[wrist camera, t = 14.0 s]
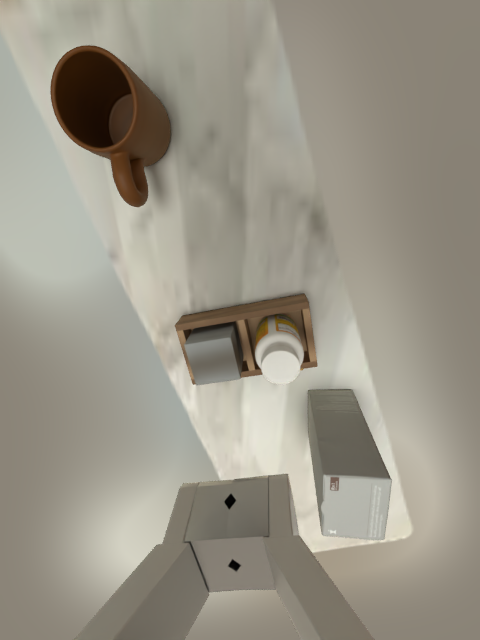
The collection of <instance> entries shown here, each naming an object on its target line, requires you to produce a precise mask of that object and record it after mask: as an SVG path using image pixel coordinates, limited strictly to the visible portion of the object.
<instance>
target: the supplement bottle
mask: <svg viewBox="0 0 480 640" xmlns="http://www.w3.org/2000/svg"><path fill="white" fill-rule="evenodd" d="M255 358H256V362H257V364H258V366H259V367H260V369H261V371H262V374H263V376H264V377H265V378H266V379H267V380H268V381H269V382H271V383H274V384H278V385H283V384H288V383H290V382H292V381H293V380H295V379H296V377H297V376H298V374H299V372H300V366H301V364H302V362H303V358H304V351H303V346H302V343H301V340H300V336H299V333H298V330H297V327H296V324H295V322H294V321H293V320H292V319H291V318H290V317H288V316H286V315H284V314H274V315H268V316H266V317H264V318H263V319H262V320H261V321H260V323H259V324H258V326H257V330H256V345H255Z"/></svg>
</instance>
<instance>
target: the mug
mask: <svg viewBox="0 0 480 640" xmlns="http://www.w3.org/2000/svg"><path fill="white" fill-rule="evenodd" d="M51 101H52V106H53V109H54V113H55V115H56V118H57V120H58V122H59V124H60V125H61V127H62V129H63V130H64V132H65V133H66V134H67V135H68V136H69V138H71V139H72V140H73V141H74V142H75V143H76V144H78V145H79V146H81V147H82V148H84V149H86V150H89V151H90V152H92V153H94V154H97V155H99V156H102V157H105V158H108V159H110V160H111V166H112V172H113V178H114V182H115V184H116V187H117V189H118V191H119V193H120V195H121V197H122V198H123V199H124V201H125V202H127V203H128V204H129V205H131V206H134V207H140V206H142V205H144V204H145V202H146V201H147V198H148V184H147V180H146V176H145V172H144V167H145V166H149V165H152V164H154V163H156V162H157V161H158V160H159V159H160V158H161V157H162V156H163V155H164V154H165V152H166V150H167V148H168V145H169V142H170V134H171V129H170V122H169V118H168V115H167V112H166V110H165V108H164V106H163V105H162V103H161V102H160V100H159V99H158V98H157V97H156V96H155V95H154V94H153V92H152V91H151V90H150V89H149V88H148V87H147V86H146V85H145V84H144V83H143V81H142V80H141V79H140V78H139V77H138V76H137V75H136V74H135V73H134V72H133V71H132V70H131V69H130V68H129V67H128V66H127V65H126V64H125V63H123V62H122V61H121V60H120V59H118V58H117V57H116V56H115V55H113V54H112V53H110V52H109V51H107V50H105V49H103V48H100V47H97V46H89V45H88V46H80V47H76V48H74V49H72V50H70V51H69V52H67V53H66V54H65V55H64V56H63V57H62V58H61V59H60V60H59V62H58V64H57V65H56V67H55V70H54V72H53V76H52V80H51Z"/></svg>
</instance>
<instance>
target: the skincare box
mask: <svg viewBox="0 0 480 640" xmlns="http://www.w3.org/2000/svg"><path fill="white" fill-rule="evenodd" d="M308 434H309V442H310V449H311V457H312V465H313V473H314V480H315V488H316V496H317V503H318V511H319V518H320V526H321V532H322V535H323V536H331V537H345V538H356V539H366V540H384V538H385V531H386V524H387V517H388V509H389V501H390V492H391V483H392V479H391V478H390V476H389V473H388V471H387V469H386V467H385V464H384V462H383V460H382V458H381V455H380V453H379V451H378V448H377V446H376V444H375V441H374V439H373V437H372V434H371V432H370V430H369V427H368V425H367V423H366V421H365V418H364V416H363V414H362V411H361V409H360V407H359V404H358V402H357V400H356V397H355V395H354V393H353V391H352V390H309V391H308Z"/></svg>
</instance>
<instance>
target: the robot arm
mask: <svg viewBox="0 0 480 640" xmlns="http://www.w3.org/2000/svg"><path fill="white" fill-rule="evenodd" d="M233 590H277V593H278V595H279V597H280V599H281V601H282V603H283V605H284V607H285V609H286V611H287V613H288V615H289V617H290V619H291V621H292V623H293V625H294V627H295V629H296V630H297V633H298V635H299V637H300V639H301V640H374V638H373V637H372V636H371V634H370V632H369V631H368V630H367V628H366V627H365V625H364V624H363V623H362V621H361V620H360V619H359V617H358V616H357V614H356V613H355V612H354V610H353V609H352V608H351V606H350V605H349V604H348V602H347V601H346V600H345V598H344V597H343V595H342V594H341V592H340V591H339V590H338V588H337V587H336V585H335V584H334V583H333V581H332V580H331V578H330V577H329V576H328V574H327V573H326V572H325V570H324V569H323V568H322V566H321V565H320V563H319V562H318V561H317V559H316V558H315V556H314V555H313V554H312V552H311V551H310V549H309V548H308V547H307V545H306V544H305V543H304V541H303V540H302V538H301V537H300V536H299V532H298V524H297V518H296V512H295V506H294V500H293V495H292V490H291V485H290V480H289V476H288V474H280V475H270V476H269V475H268V476H259V477H250V478H241V479H234V480H223V481H208V482H197V483H183V484H182V486H181V487H180V489H179V492H178V495H177V498H176V502H175V504H174V508H173V511H172V514H171V517H170V521H169V524H168V527H167V530H166V534H165V537H164V540H163V544H159V545H156V546H155V547H154V549H153V550H152V551H151V552H150V553H149V554H148V555H147V557H146V558H145V559H144V560H143V561H142V562H141V563H140V565H139V566H138V567H137V568H136V569H135V571H133V572H132V574H131V575H130V576H129V577H128V578H127V579H126V580H125V582H124V583H123V584H122V585H121V586H120V587H119V589H118V590H117V591H116V592H115V593H114V594H113V595H112V596H111V598H110V599H109V600H108V601H107V602H106V603H105V604H104V606H103V607H102V608H101V609H100V610H99V611H98V612H97V614H96V615H95V616H94V617H93V618H92V619H91V621H90V622H89V623H88V624H87V625H86V626H85V627H84V628H83V630H82V631H81V632H80V633H79V634H78V635H77V636H76V638H75V639H74V640H185V638H186V636H187V635H188V633H189V631H190V629H191V627H192V625H193V624H194V622H195V620H196V618H197V616H198V615H199V613H200V611H201V609H202V607H203V605H204V603H205V602H206V600H207V598H208V596H209V593H208V592H220V591H233Z"/></svg>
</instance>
